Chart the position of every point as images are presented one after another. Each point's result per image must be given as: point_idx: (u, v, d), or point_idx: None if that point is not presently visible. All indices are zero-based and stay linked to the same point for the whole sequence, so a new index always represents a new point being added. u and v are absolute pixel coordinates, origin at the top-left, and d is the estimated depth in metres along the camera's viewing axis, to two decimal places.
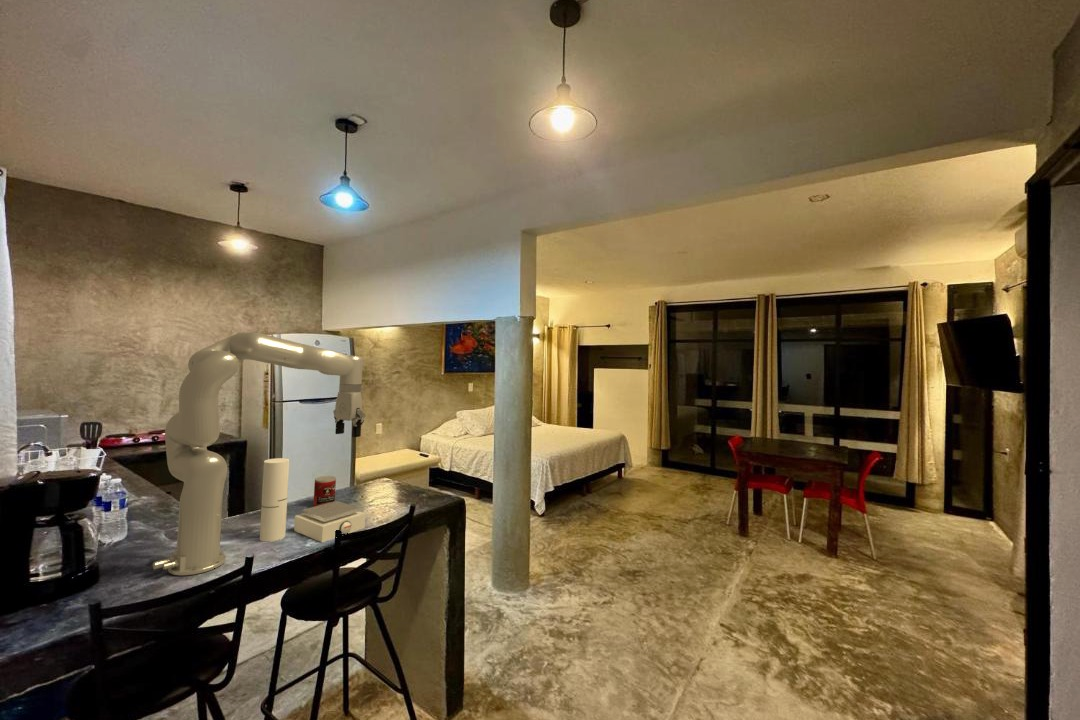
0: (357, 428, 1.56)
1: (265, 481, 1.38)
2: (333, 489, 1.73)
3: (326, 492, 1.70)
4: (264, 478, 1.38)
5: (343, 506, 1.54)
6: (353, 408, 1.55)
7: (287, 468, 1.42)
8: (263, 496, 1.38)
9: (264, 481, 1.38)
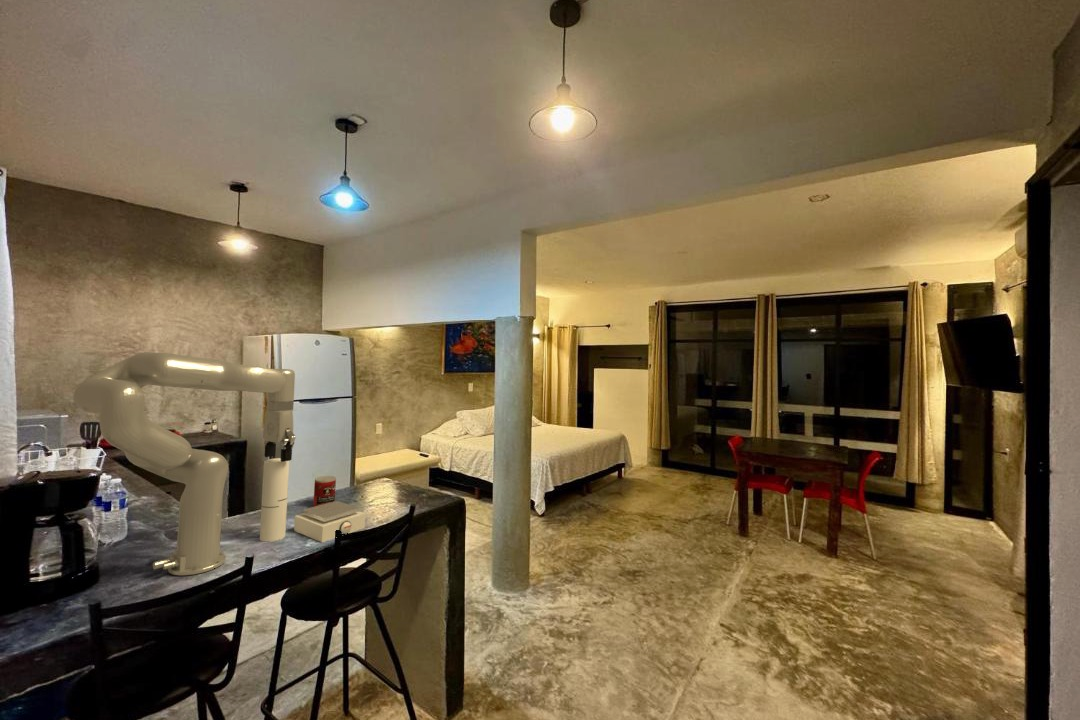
0: (287, 451, 1.39)
1: (265, 480, 1.38)
2: (333, 489, 1.73)
3: (326, 492, 1.70)
4: (264, 478, 1.38)
5: (343, 506, 1.54)
6: (281, 429, 1.38)
7: (287, 468, 1.42)
8: (263, 496, 1.38)
9: (264, 481, 1.38)
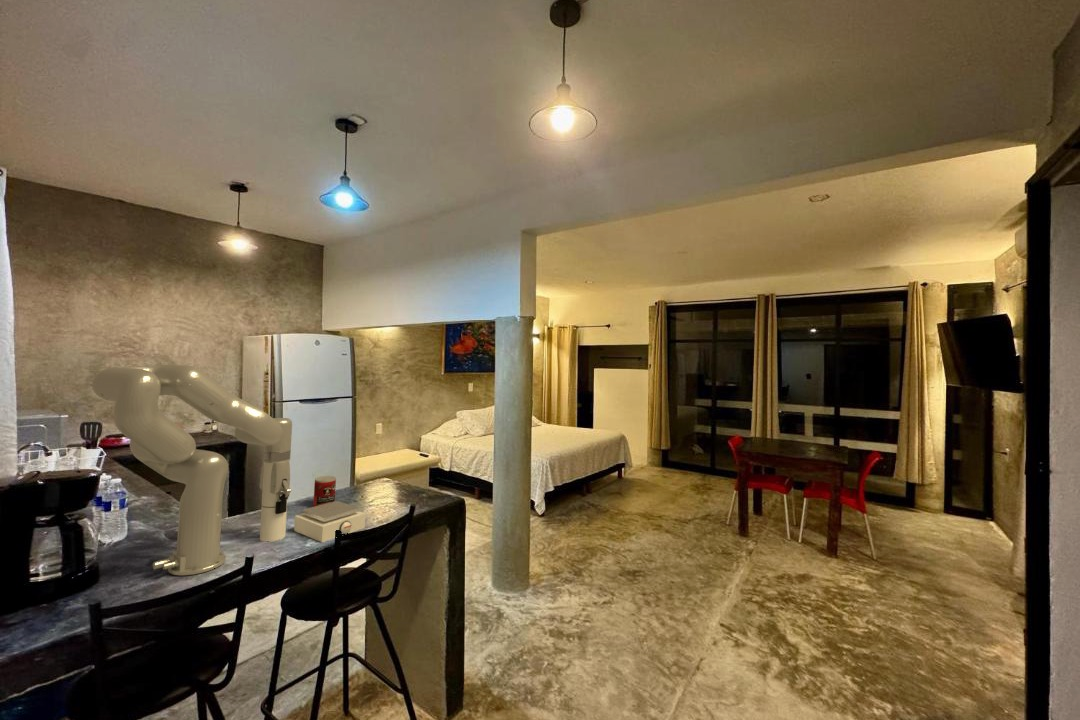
0: (281, 504, 1.39)
1: (265, 480, 1.38)
2: (333, 489, 1.73)
3: (326, 492, 1.70)
4: (264, 478, 1.38)
5: (343, 506, 1.54)
6: (278, 480, 1.37)
7: None
8: (263, 496, 1.38)
9: (264, 481, 1.38)
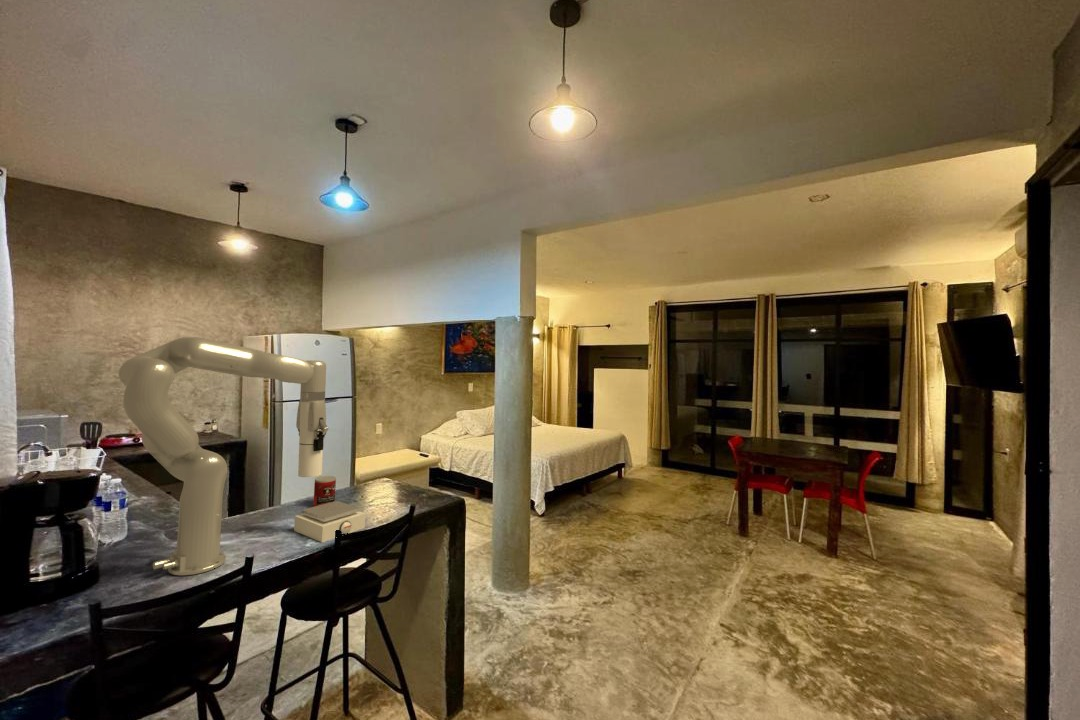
0: (319, 441, 1.44)
1: (303, 419, 1.43)
2: (333, 489, 1.73)
3: (326, 492, 1.70)
4: (301, 417, 1.44)
5: (343, 506, 1.54)
6: (315, 418, 1.43)
7: None
8: (301, 434, 1.44)
9: (302, 420, 1.44)
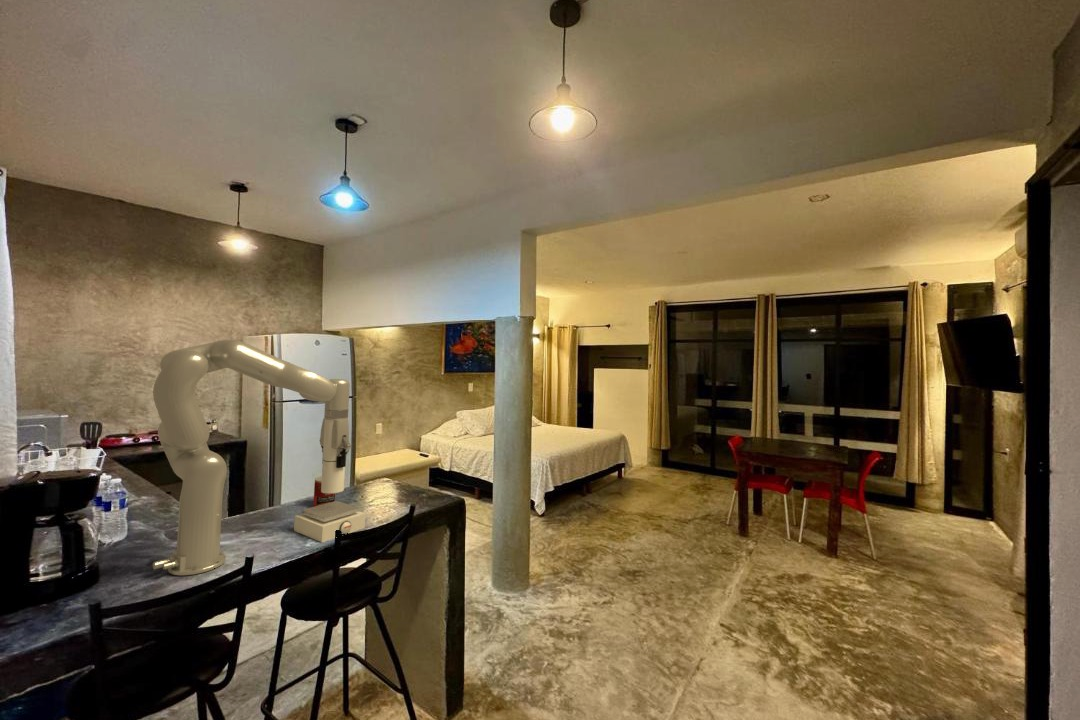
0: (342, 458, 1.48)
1: (327, 436, 1.47)
2: None
3: None
4: (325, 434, 1.47)
5: (343, 506, 1.54)
6: (339, 436, 1.46)
7: None
8: (325, 451, 1.47)
9: (325, 437, 1.47)
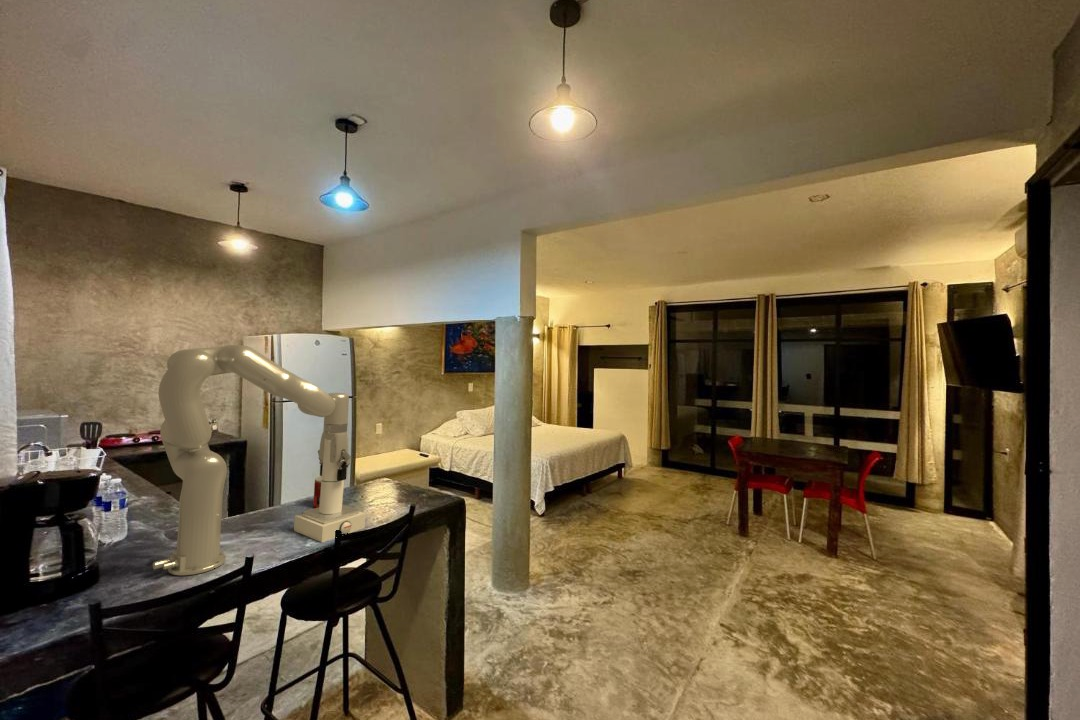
0: (342, 471, 1.47)
1: (326, 456, 1.47)
2: None
3: None
4: (325, 454, 1.47)
5: (343, 507, 1.53)
6: (338, 450, 1.46)
7: None
8: (324, 471, 1.47)
9: (325, 457, 1.47)
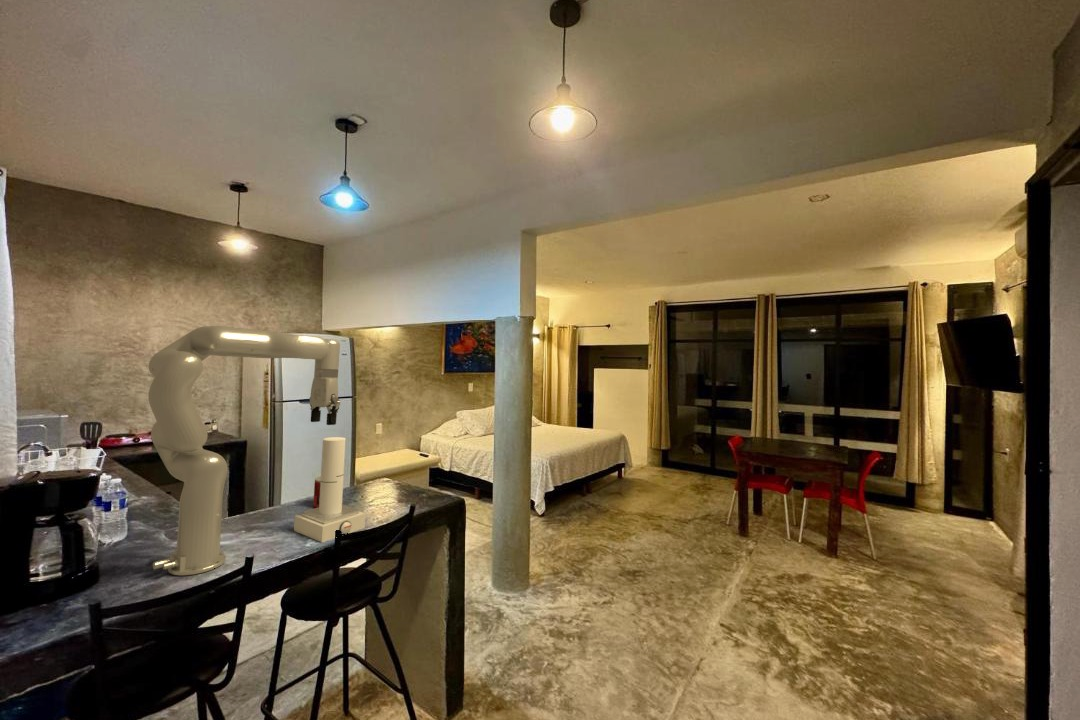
0: (332, 416, 1.48)
1: (325, 457, 1.47)
2: None
3: None
4: (323, 455, 1.47)
5: (343, 507, 1.53)
6: (328, 394, 1.47)
7: (344, 446, 1.50)
8: (323, 472, 1.47)
9: (323, 458, 1.47)
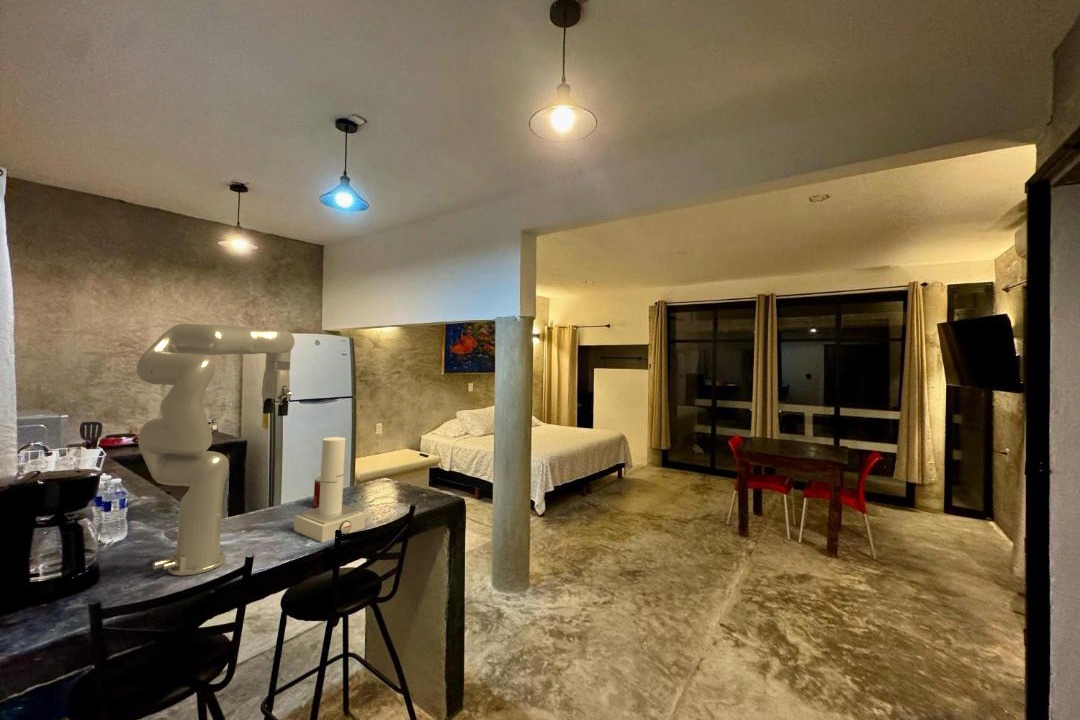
0: (283, 407, 1.51)
1: (325, 457, 1.47)
2: None
3: None
4: (323, 455, 1.47)
5: (343, 507, 1.53)
6: (279, 386, 1.50)
7: (344, 446, 1.50)
8: (322, 472, 1.47)
9: (323, 458, 1.47)
